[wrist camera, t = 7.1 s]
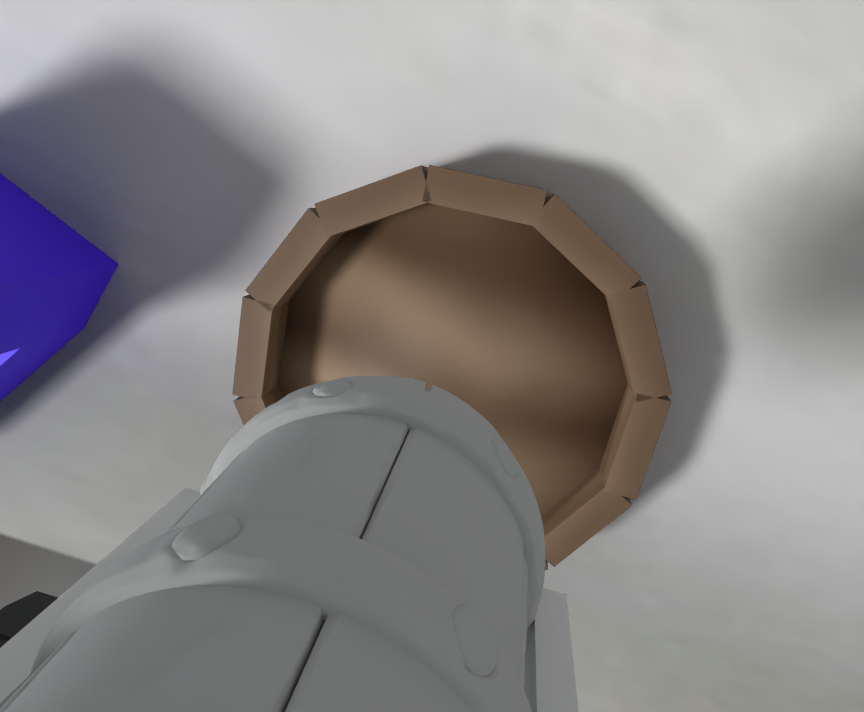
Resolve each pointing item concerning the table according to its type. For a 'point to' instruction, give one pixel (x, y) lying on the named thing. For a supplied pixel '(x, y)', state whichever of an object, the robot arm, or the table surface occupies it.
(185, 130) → the table surface
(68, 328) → the bracket
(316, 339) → the tray
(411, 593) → the mug
